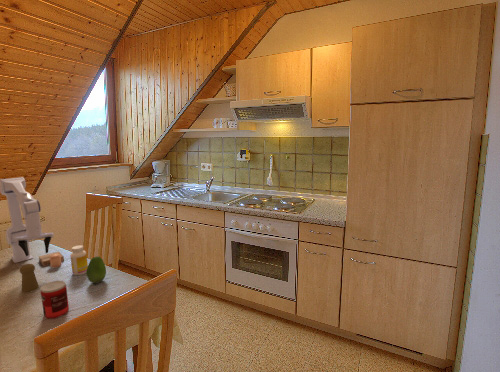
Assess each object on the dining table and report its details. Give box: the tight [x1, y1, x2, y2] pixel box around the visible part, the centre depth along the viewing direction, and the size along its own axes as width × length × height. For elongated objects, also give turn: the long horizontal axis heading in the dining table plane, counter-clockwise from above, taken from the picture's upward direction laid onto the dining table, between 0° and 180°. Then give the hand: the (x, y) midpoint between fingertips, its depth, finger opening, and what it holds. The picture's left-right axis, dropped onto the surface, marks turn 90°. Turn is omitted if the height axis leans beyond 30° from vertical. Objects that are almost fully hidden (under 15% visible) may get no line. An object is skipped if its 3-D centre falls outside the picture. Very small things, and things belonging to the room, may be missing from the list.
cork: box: [19, 263, 40, 294], centre depth 126 cm, size 6×6×11 cm
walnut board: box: [38, 251, 65, 267], centre depth 154 cm, size 9×9×2 cm
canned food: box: [39, 280, 70, 319], centre depth 109 cm, size 8×8×11 cm
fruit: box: [85, 256, 107, 284], centre depth 131 cm, size 8×8×12 cm
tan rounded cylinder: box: [49, 254, 62, 269], centre depth 148 cm, size 5×5×6 cm
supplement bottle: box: [70, 244, 89, 276], centre depth 140 cm, size 7×7×13 cm
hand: (37, 253), depth 139 cm, fingers open, 7 cm apart
